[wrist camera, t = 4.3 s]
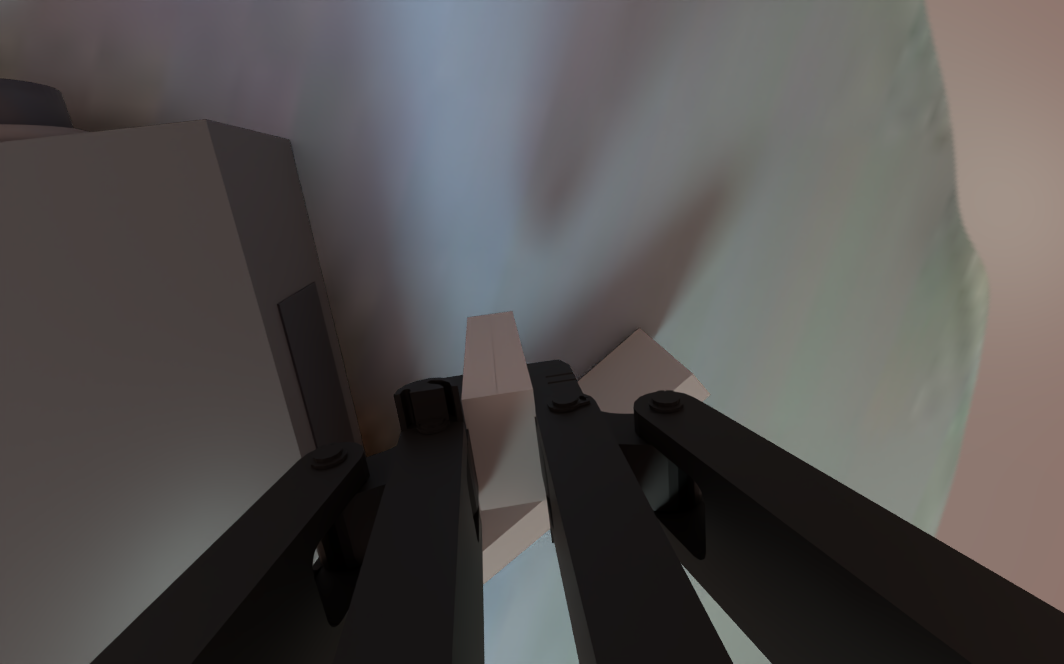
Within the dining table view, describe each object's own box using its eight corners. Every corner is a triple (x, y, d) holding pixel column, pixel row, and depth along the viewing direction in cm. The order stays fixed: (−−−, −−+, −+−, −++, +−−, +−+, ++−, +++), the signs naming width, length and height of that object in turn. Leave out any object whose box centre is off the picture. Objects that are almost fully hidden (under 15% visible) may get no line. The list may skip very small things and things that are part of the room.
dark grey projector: (390, 553, 24) (360, 688, 17) (117, 600, 23) (-21, 761, 16) (278, 84, 18) (171, 30, 12) (-94, 124, 17) (-429, 89, 11)
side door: (412, 557, 24) (393, 672, 18) (392, 541, 23) (366, 653, 18) (656, 347, 22) (718, 402, 16) (638, 327, 22) (695, 376, 16)
